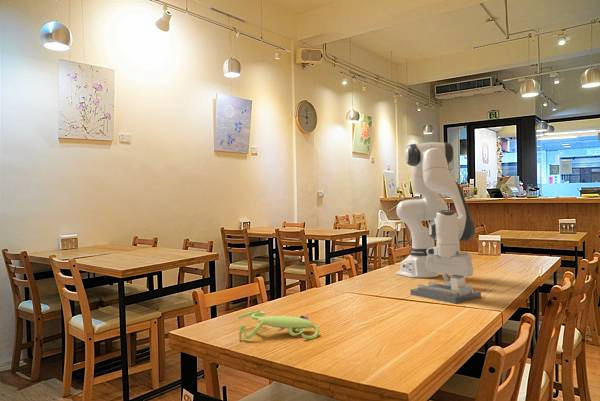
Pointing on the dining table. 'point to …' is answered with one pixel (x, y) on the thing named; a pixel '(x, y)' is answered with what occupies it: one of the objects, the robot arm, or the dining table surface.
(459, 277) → the fader tab
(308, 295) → the dining table surface
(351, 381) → the dining table surface
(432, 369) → the dining table surface
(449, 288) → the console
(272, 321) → the figurine
